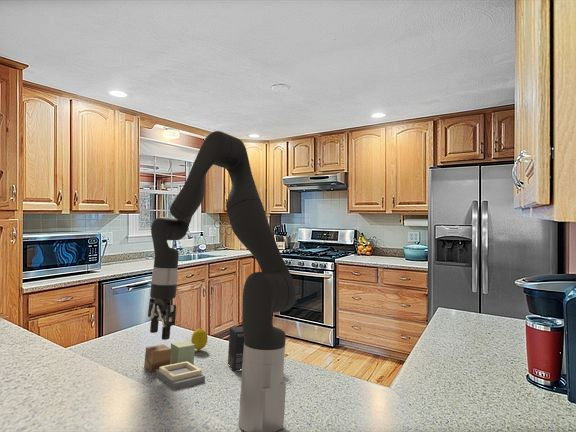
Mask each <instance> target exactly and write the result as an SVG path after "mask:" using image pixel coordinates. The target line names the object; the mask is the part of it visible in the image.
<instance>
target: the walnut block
mask: <svg viewBox="0 0 576 432" xmlns="http://www.w3.org/2000/svg"><path fill="white" fill-rule="evenodd" d="M170 357H171V347H169V346H167V345H166V344H157V345H151V346H150V345H149V346H145V353H144V362H143V363H144V365H143V366H144V367H143V368H145V369H146V370H147V371H148V372H149V373H151V374H152V373H156V369H159V367H161V366H166V365H171V363H170Z"/></svg>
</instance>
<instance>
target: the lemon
mask: <svg viewBox="0 0 576 432" xmlns="http://www.w3.org/2000/svg"><path fill="white" fill-rule="evenodd" d="M190 343H192V344H194V345H195V350H196V351H198V350H200V349H201V350H202V349H204V348H205V347H206V346H207V343H208V333H207V331H206V330H205V329H203V328H202V327H199V328H197V329H195V330H194V331H193V333H192V336H191V340H190ZM201 350H200V351H201Z"/></svg>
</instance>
